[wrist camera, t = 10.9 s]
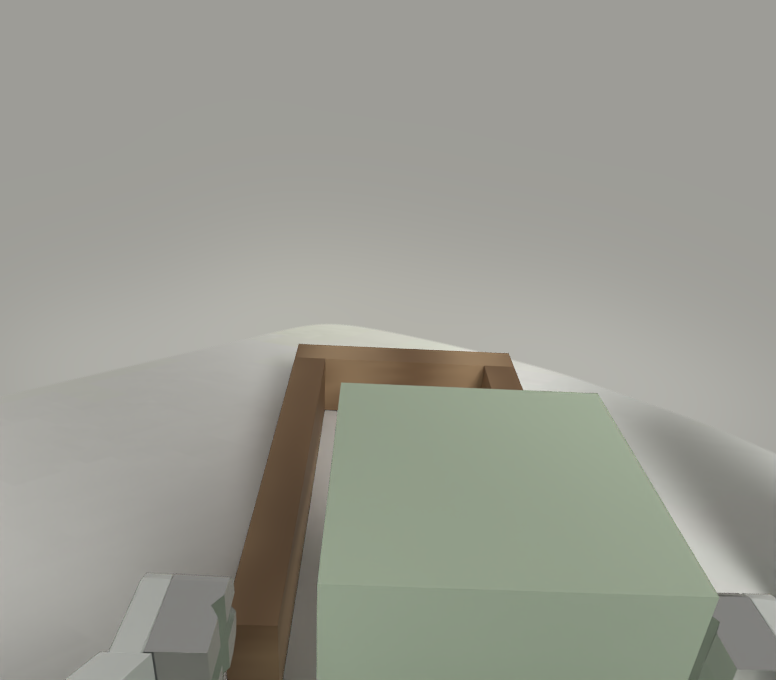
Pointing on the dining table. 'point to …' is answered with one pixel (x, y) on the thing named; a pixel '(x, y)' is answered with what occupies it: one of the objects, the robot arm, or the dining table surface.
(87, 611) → the dining table surface
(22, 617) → the dining table surface
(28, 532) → the dining table surface
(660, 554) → the sage block
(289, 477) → the frame
